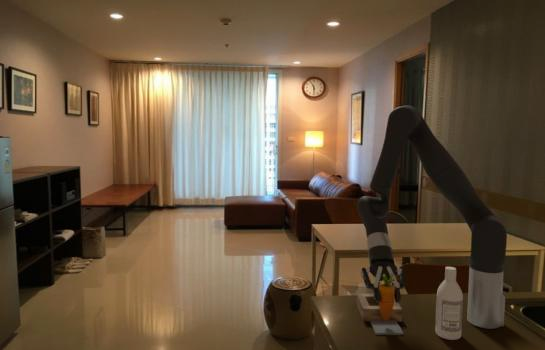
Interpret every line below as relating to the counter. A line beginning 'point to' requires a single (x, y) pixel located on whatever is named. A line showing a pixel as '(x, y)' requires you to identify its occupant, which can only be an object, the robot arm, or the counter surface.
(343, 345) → the counter surface
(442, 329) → the bath foam
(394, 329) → the plate
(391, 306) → the carrot
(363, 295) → the holder
